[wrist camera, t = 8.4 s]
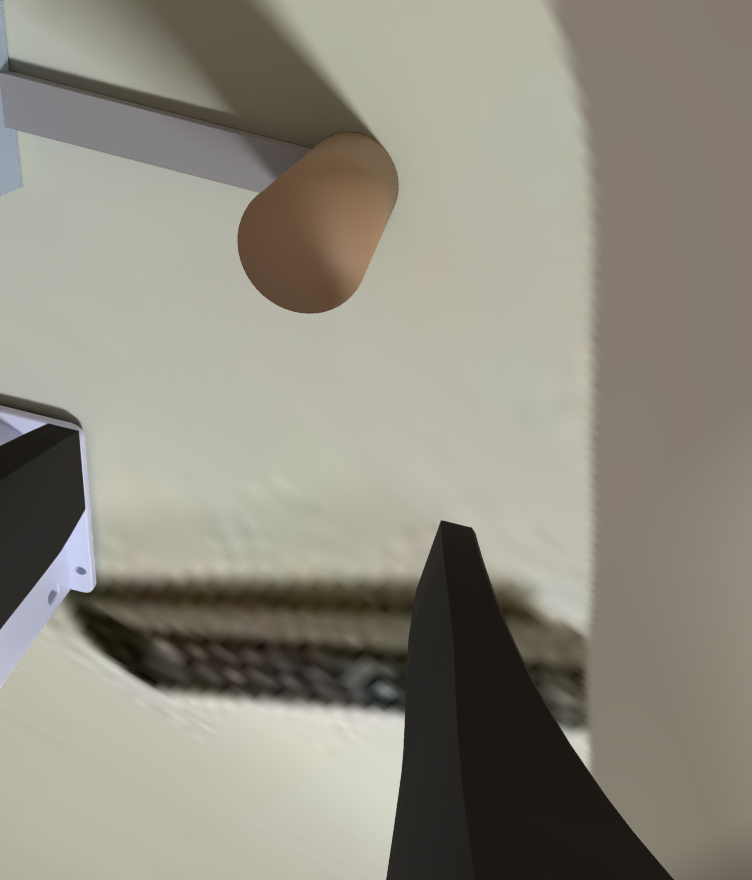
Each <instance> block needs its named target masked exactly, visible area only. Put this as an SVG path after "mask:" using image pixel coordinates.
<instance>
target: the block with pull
mask: <svg viewBox="0 0 752 880" xmlns="http://www.w3.org/2000/svg"><path fill="white" fill-rule="evenodd" d="M16 130H18V131H22V132H26V133H30V134H34V135H38V136H42V137H46V138H49V139H53V140H57V141H61V142H65V143H69V144H73V145H77V146H80V147H84V148H88V149H92V150H96V151H100V152H104V153H108V154H112V155H115V156H119V157H123V158H127V159H131V160H135V161H139V162H143V163H146V164H150V165H154V166H158V167H162V168H166V169H170V170H174V171H177V172H181V173H185V174H189V175H193V176H197V177H201V178H205V179H208V180H212V181H216V182H220V183H224V184H228V185H232V186H236V187H239V188H243V189H247V190H251V191H255V192H259V193H260V194H259V195H257V196H256V197H255V198H254V199H253V200H252V201H251V203H250V204H249V205H248V207H247V208H246V210H245V212H244V214H243V216H242V218H241V221H240V225H239V230H238V252H239V256H240V260H241V263H242V266H243V268H244V270H245V272H246V274H247V276H248V278H249V279H250V281H251V282H252V284H253V285H254V286H255V287H256V289H257V290H258V291H259V292H260V293H261V294H262V295H263V296H265V297H266V298H267V299H268V300H270V301H271V302H273V303H275V304H276V305H278V306H280V307H282V308H284V309H287V310H290V311H294V312H299V313H309V314H310V313H320V312H325V311H328V310H331V309H334V308H336V307H338V306H340V305H341V304H343V303H344V302H346V301H347V300H348V299H349V298H350V297H351V296H352V295H353V294H354V293H355V291H356V290H357V288H358V287H359V285H360V284H361V281H362V279H363V277H364V275H365V272H366V270H367V268H368V265H369V263H370V261H371V259H372V256H373V254H374V252H375V249H376V247H377V245H378V242H379V240H380V238H381V236H382V233H383V231H384V229H385V226H386V224H387V222H388V220H389V217H390V215H391V213H392V210H393V208H394V206H395V203H396V200H397V196H398V176H397V171H396V168H395V165H394V163H393V161H392V159H391V157H390V156H389V154H388V153H387V151H386V150H385V149H384V148H383V147H382V146H381V145H380V144H379V143H378V142H376V141H375V140H373V139H372V138H370V137H368V136H366V135H363V134H360V133H354V132H342V133H337V134H333V135H331V136H329V137H327V138H325V139H323V140H322V141H321V142H320V143H318V144H317V145H316V146H315V147H314V148H312V149H310V148H307V147H303V146H299V145H295V144H291V143H287V142H283V141H280V140H276V139H272V138H268V137H264V136H260V135H256V134H252V133H249V132H245V131H241V130H237V129H233V128H229V127H225V126H222V125H218V124H214V123H210V122H206V121H202V120H198V119H194V118H191V117H187V116H183V115H179V114H175V113H171V112H167V111H163V110H160V109H156V108H152V107H148V106H144V105H140V104H136V103H133V102H129V101H125V100H121V99H117V98H113V97H109V96H105V95H102V94H98V93H94V92H90V91H86V90H82V89H78V88H75V87H71V86H67V85H63V84H59V83H55V82H51V81H47V80H44V79H40V78H36V77H32V76H28V75H24V74H20V73H16V72H13V71H9V61H8V52H7V43H6V34H5V25H4V16H3V7H2V0H0V196H1V195H3V194H6V193H8V192H11V191H13V190H16V189H18V188H21V187H22V180H21V171H20V162H19V153H18V144H17V134H16Z"/></svg>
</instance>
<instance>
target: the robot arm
mask: <svg viewBox="0 0 752 880" xmlns="http://www.w3.org/2000/svg"><path fill="white" fill-rule="evenodd" d="M95 585H96V572H95V560H94V547H93V534H92V522H91V509H90V497H89V484H88V472H87V459H86V446H85V436H84V432H83V431H82V430H81V428H80V427H78V426H77V425H75V424H73V423H70V422H66V421H62V420H58V419H54V418H50V417H46V416H41V415H37V414H33V413H29V412H25V411H21V410H17V409H13V408H9V407H5V406H1V405H0V688H1V687H2V686H3V684H4V683H5V681H6V680H7V679H8V677H9V676H10V674H11V673H12V671H13V670H14V669H15V667H16V666H17V664H18V663H19V661H20V660H21V659H22V657H23V656H24V654H25V653H26V651H27V650H28V649H29V647H30V646H31V644H32V643H33V642H34V640H35V639H36V637H37V636H38V634H39V633H40V632H41V630H42V629H43V627H44V626H45V624H46V623H47V622H48V620H49V619H50V617H51V616H52V614H53V613H54V612H55V610H56V609H57V607H58V606H59V605H60V603H61V602H62V600H63V599H64V597H65V596H66V595H67V593H68V592H69V590H70V589H72V590H77V591H81V592H91V591H92V590H93V588H94V587H95ZM386 880H674V879H673V878H672V877H671V876H670V875H669V874H668V872H667V871H666V870H665V869H664V868H663V867H662V865H661V864H660V863H659V862H658V861H657V859H656V858H655V857H654V856H653V855H652V854H651V853H650V851H649V850H648V849H647V848H646V846H645V845H644V844H643V843H642V842H641V841H640V839H639V838H638V837H637V836H636V835H635V833H634V832H633V831H632V830H631V828H630V827H629V826H628V824H626V822H625V821H624V819H623V818H622V817H621V815H620V814H619V813H618V811H617V810H616V809H615V807H614V806H613V805H612V804H611V802H610V801H609V800H608V798H607V797H606V796H605V794H604V793H603V791H602V790H601V788H600V787H599V785H598V784H597V782H596V781H595V780H594V778H593V777H592V775H591V774H590V772H589V771H588V769H587V768H586V766H585V765H584V763H583V762H582V761H581V759H580V758H579V756H578V755H577V753H576V752H575V750H574V749H573V747H572V746H571V744H570V743H569V741H568V740H567V738H566V736H565V735H564V733H563V731H562V730H561V728H560V727H559V725H558V723H557V722H556V720H555V718H554V717H553V715H552V713H551V712H550V710H549V708H548V706H547V704H546V703H545V701H544V699H543V697H542V696H541V694H540V692H539V690H538V688H537V686H536V685H535V683H534V681H533V679H532V677H531V675H530V673H529V671H528V669H527V667H526V665H525V663H524V661H523V659H522V657H521V654H520V652H519V650H518V648H517V646H516V644H515V642H514V639H513V637H512V635H511V633H510V630H509V628H508V626H507V623H506V621H505V618H504V616H503V613H502V611H501V608H500V606H499V603H498V601H497V598H496V596H495V593H494V590H493V588H492V585H491V582H490V579H489V576H488V573H487V571H486V568H485V565H484V561H483V558H482V555H481V552H480V548H479V545H478V541H477V538H476V534H475V532H474V530H473V529H472V528H471V527H467V526H462V525H458V524H454V523H450V522H446V521H442V520H441V522H440V525H439V528H438V531H437V533H436V536H435V539H434V542H433V545H432V547H431V550H430V553H429V556H428V559H427V562H426V564H425V567H424V570H423V573H422V576H421V578H420V581H419V584H418V587H417V590H416V595H415V601H414V607H413V613H412V620H411V626H410V633H409V641H408V661H407V683H406V706H405V729H404V750H403V762H402V773H401V780H400V788H399V795H398V802H397V809H396V817H395V824H394V831H393V838H392V844H391V851H390V858H389V865H388V872H387V879H386Z"/></svg>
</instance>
